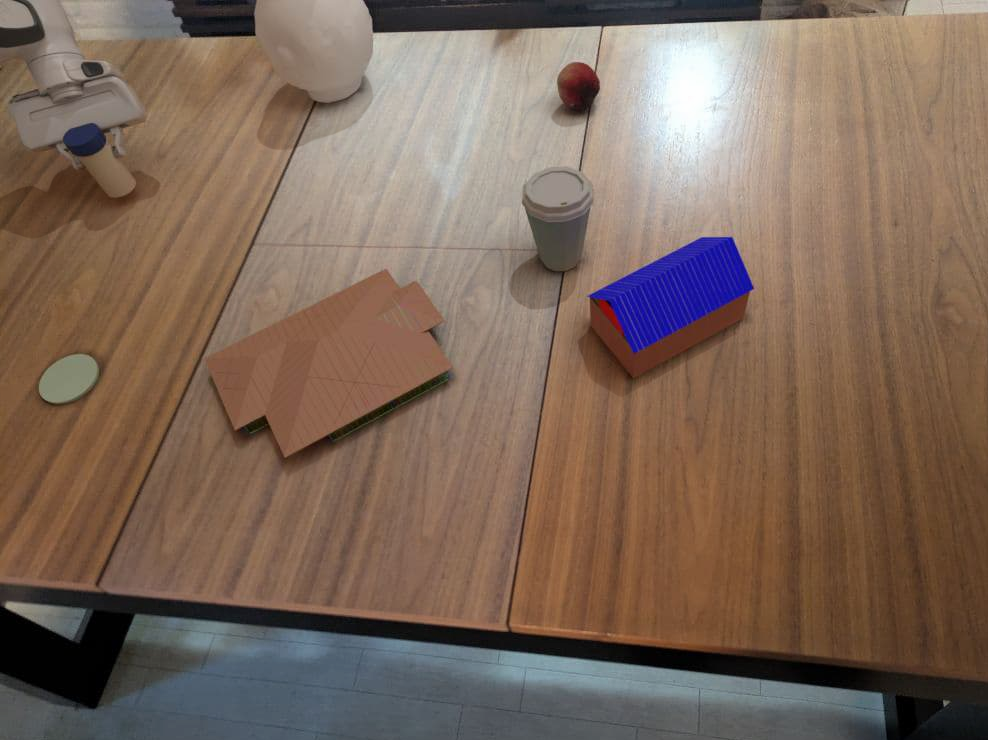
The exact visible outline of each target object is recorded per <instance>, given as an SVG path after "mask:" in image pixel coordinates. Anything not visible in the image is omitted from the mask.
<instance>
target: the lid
mask: <svg viewBox="0 0 988 740" xmlns="http://www.w3.org/2000/svg"><path fill="white" fill-rule="evenodd" d="M106 140H107V136H106V135H105V134H103V132H102V131H101V129H100V128H99V127H98V126H97V125H96V124H94V123H88V124H85V125H82V126H78V127H75V128H71V129H69V130H68V131H67V132H66V133H65V134H64V136H63V142H64V144H65V145H66V146H67V148H68V149H69V150H70V151H69V152H70V153H72V154H73V155H74V156H75V157H76V156H79V157H84V156H89V155H92V154H94V153H96V152H98V151H99V150H101V149H102V148H103V147H104V145H105V144H106Z"/></svg>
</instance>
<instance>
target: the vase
mask: <svg viewBox="0 0 988 740" xmlns="http://www.w3.org/2000/svg"><path fill="white" fill-rule="evenodd" d="M253 11H254V13H253V15H254V26H255V28H254V33H255V37H256V40H257V42H258V44H259V48H260V50H261V51H262V53H263V55H265V58H266V59H267V61H268V62H269V64H270V66H271V68H272V70H273V71H274V73H275V74H276V75H277V76H278V77H279V78H280V79H282V80H283V81H284V82H286V83H287V84H289V85H291V86H294V87H295V88H298V89H300V90H305V91H306V93H307V94H308V96H309V98H310V99H311V100H313V101H315V102H318V103H326V104H330V103H334V102H338V101H342V100H346V99H347V98H349V97H350V96H351V95H353V94H354V93H355V92H357V91H358V89H360V87H361V84H362V81H363V75H364V74H365V72H366V71H367V69H368V66H369V64H370V61H371V59H372V56H373V54H374V31H373V18H372V16H371V14H370V10H369V8H368V6H367V5H366V3H365V1H364V0H256V3H255V8H254V10H253Z"/></svg>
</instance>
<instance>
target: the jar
mask: <svg viewBox="0 0 988 740" xmlns="http://www.w3.org/2000/svg"><path fill="white" fill-rule="evenodd" d="M111 147H112V146H111V144H110V142H109V141H108V140H107V139H106V144H105V145H104V147H103V148H102V149H101V150H99V151H98V152H96V153H94V154H92V155H89V156H84V157H79V156H75V157H77V158H78V159H79V160H80V162H81V163H82V164H83V165H84V167H85V168H84V169H86V171H87V172H88V173H89V174H90V176H92V178H93V179H94V181H95V182H96V183H97V185H99V187H100V188H101V189H102V191H103V192H104V193H105V194H106V195H107V197H110V198H121V197H124V196H126V195H128V194H130V193H131V192H132V191H133V190H134V189H135V188H136V185H137V180H136V178H135V177H134V175H133V174H132V173H131V172H130V169H128V167H127V166H126V165H125V163H124V162H123V160H122V159H121V158H115V156H114V155H113V151H112V150H111Z"/></svg>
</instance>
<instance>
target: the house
mask: <svg viewBox="0 0 988 740" xmlns="http://www.w3.org/2000/svg"><path fill="white" fill-rule="evenodd" d="M753 290H755V287H754V285H753V282H752V280H751V278H750V274H749V273H748V271H747V268H746V266H745V264H744V261H743V259H742V256H741V254H740V252H739V249H738V247H737V244H736V242H735V240H734V238H733V236H702V237H701V236H700V238H697V239H696V240H695V239H694V241H692V242H689V243H688V244H686V245H683V246H681V247H680V248H677V249H676V250H674V251H672V252H670V253H668V254H666V255H665V256H662V257H660V258H658V259H656V260H654V261H652V262H650V263H648V264H647V265H645V266H642V267H641V268H639V269H636V270H634V271H633V272H631V273H629V274H627V275H626V276H623V277H621V278H619V279H617V280H615V281H613V282H612V283H610V284H608V285H606V286H604V287H602V288H599V289H597V290H596V291H594V292H592V293H590V294H588V295H586V297H588V298H589V315H590V326H591V328H592V329H593V330H594V332H595V333H596V334H597V335H598V336H599V338H600V339H601V341H603V343H604V344H605V346H606V347H607V348H608V349H609V350H610V351H611V353H612V354H613V355H614V356H615V357H616V359H617V360H618V362H619V363H620V364H621V366H623V368H624V369H625V370H626V371H627V373H628V374H629V375H630V376H631V377H632V379H635V378H637V377H639V376H641V375H642V374H644V373H647V372H648V371H650V370H652V369H653V368H655V367H657V366H659V365H661V364H663V363H664V362H666V361H668V360H670V359H672V358H674V357H675V356H677V355H679V354H681V353H683V352H684V351H686V350H689V349H690V348H692V347H694V346H696V345H697V344H699V343H701V342H703V341H705V340H706V339H709V338H711V337H712V336H714V335H716V334H718V333H720V332H721V331H723V330H725V329H726V328H728V327H730V326H732V325H734V324H736V323H738V322H740V321H741V320H743V319H744V318H745V313H746V310H747V306H748V302H749V297H750V293H751V291H753Z"/></svg>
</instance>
